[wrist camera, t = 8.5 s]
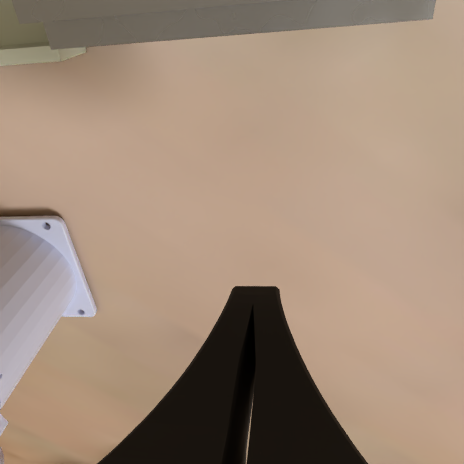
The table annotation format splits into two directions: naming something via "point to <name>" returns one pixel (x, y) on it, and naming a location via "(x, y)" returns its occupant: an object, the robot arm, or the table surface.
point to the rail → (202, 18)
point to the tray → (27, 41)
